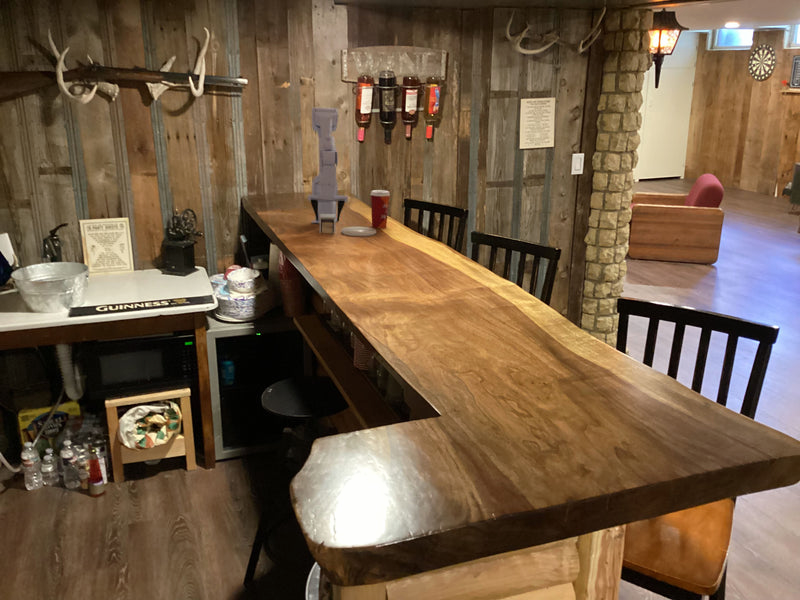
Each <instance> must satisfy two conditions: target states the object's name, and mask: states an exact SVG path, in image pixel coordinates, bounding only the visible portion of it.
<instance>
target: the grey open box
mask: <svg viewBox="0 0 800 600" xmlns="http://www.w3.org/2000/svg"><path fill="white" fill-rule="evenodd" d="M335 215H336V216H337V213H336V214H320V223H319V234H321V233H322V220H325V221H333V234H336V222H335Z"/></svg>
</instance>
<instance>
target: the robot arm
mask: <svg viewBox="0 0 800 600" xmlns="http://www.w3.org/2000/svg"><path fill="white" fill-rule="evenodd" d="M338 123H339V111H338V109H337V108H336V107H315V106H312V109H311V127H312V130H313V131H315V133H317V136H318V173H319V174H317V175H316V176H314V178H313V179H312V181H311V194H308V195H307V201H308V202H310V204H311V208H312V210H313V213H314V215H315V216H314V217H315V219H314V220H311V223H312V224H320V214H336V215H335V223H336V222H340V217H341V213H342V210H343V208H344V205H345V203H348V199H349V198H348V195H338V193H339V191H338V188H339V187H338V180H337V167H338V164H339V163H338V160H339V158H338V150H337V148H336V139H335V137H333V136H332V133H333V132H336V131H337V128H338Z"/></svg>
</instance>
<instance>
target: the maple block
mask: <svg viewBox="0 0 800 600" xmlns="http://www.w3.org/2000/svg"><path fill="white" fill-rule="evenodd" d="M321 233H322V234H334V231H333V221H325V220H322V230H321Z"/></svg>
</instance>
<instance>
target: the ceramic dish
mask: <svg viewBox="0 0 800 600" xmlns="http://www.w3.org/2000/svg"><path fill="white" fill-rule="evenodd" d="M341 234H342V235H345V236H350V237H363V238H364V237H372V236H375V235H377V230H376V228H374V227H367V226H348V227H343V228H341Z"/></svg>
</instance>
